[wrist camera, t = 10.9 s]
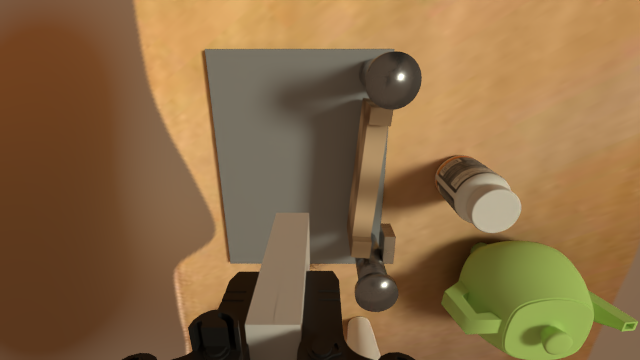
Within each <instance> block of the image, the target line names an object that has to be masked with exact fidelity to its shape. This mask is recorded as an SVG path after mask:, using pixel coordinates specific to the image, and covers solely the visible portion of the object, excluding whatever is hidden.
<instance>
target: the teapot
mask: <svg viewBox="0 0 640 360" xmlns="http://www.w3.org/2000/svg"><path fill="white" fill-rule="evenodd" d="M441 304H442V306H443V307H444V308H445V309H446V310H447V312H448V313H449V314H450V315H451V316H452V318H453V319H454V320H455V321H456V323H457V324H458V325H459V326H460V327H461V329H462V330H463V331H464V332H465V334H478V335H480V336H481V337H482V338H483V339H485V340H486V341H488V342H489V343H491V344H492V345H494V346H495V347H497V348H498V349H500V350H501V351H503V352H505V353H507V354H508V355H510V356H513V357H516V358H520V359H526V360H554V359H560V358H564V357H567V356H569V355H572V354H574V353H575V352H577V351H578V350H579V349H580V348H581V346H582V345H583V343H584V342H585V340H586V338H587V336H588V334H589V332H590V329H591V326H592V323H593V321H594V322H597V323H600V324H603V325H607V326H610V327H613V328H616V329H619V330H620V331H632V330H635V328H636V326H637V324H638V321H637V320H635V319H634V318H632V317H630V316H629V315H627V314H626V313H624V312H622V311H621V310H619V309H618V308H616V307H614V306H613V305H611V304H609V303H608V302H606V301H605V300H603V299H601V298H600V297H598V296H596V295H595V294H593V293H592V292H590V291H588V290H587V287H586V285H585V283H584V280H583V278H582V277H581V275H580V273H579V272H578V271H577V269H576V268H575V267H574V265H573V264H572V263H571V262H570V260H569V259H568V258H567V257H566V256H564V255H563V254H562V253H561V252H559V251H558V250H556V249H554V248H552V247H549V246H546V245H544V244H540V243H536V242H529V241H504V242H497V243H492V244H488V245H487V244H486V243H477V244H475V245H474V246H473V247H472V248H471V254H470V255H469V257H468V258H467V260H466V262H465V264H464V266H463V268H462V271H461V274H460V277H459V280H458V282H457V283H456V284H454V285H453V286H451V287H450V288H448V289H447V290H445V291H444V295H443V298H442V302H441Z"/></svg>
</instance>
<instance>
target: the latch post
mask: <svg viewBox="0 0 640 360" xmlns="http://www.w3.org/2000/svg"><path fill="white" fill-rule="evenodd" d="M395 239H396V236H395V234H394V232H393V229H392V227H391V224H380V232H379V246H378V243H377V239H376V237H375V235H374V234H373V233H372V232H371V241H372V245H371V252H370V258H355V262H356V268H357V274H358V282H357V283H356V285H355V298H356V301H357V303H358V304H359V306H360V307H362V308H363V309H365V310H367V311H371V312H380V311H384V310H386V309H389V308H390V307H391V306H393V305H394V304H395V302H396V301H397V298H398V289H397V286H396V283H395V281H394V280H393V278H392V277H390V276H389V275H387V273H386V269H385V266H384V264H393V260H394V249H395Z"/></svg>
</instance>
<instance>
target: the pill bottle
mask: <svg viewBox="0 0 640 360" xmlns="http://www.w3.org/2000/svg"><path fill="white" fill-rule="evenodd" d="M435 184H436V187H437V189H438V191H439V192H440V194H441V195H442V196H443V197H444V199H445V200H446V201H447V202H448V203H449V205H450V206H451V207H452V208H453V209H454V210H455V212H456V213H457V214H458V215H459V216H460V217H461V218H462V219H463V220H465V221H467V222H470V223H472V224H473V225H474V226H475V227H476V228H478V229H479V230H481V231H483V232H487V233H497V232H501V231H504V230H506V229H508V228H509V227H511V226H512V225H513V224H514V223H515V222H516V221H517V219H518V217H519V215H520V212H521V203H520V200H519V198H518V197H517V195H516V194H515V193H513V192H512V191H511V189H510V187H509V185H508V183H507V182H506V180H505V179H504V178H502V177H501V176H499V175H498V174H496V173H495V172H494V171H492V170H490V169H489V168H487V167H486V166H485V165H483V164H482V163H480V162H478V161H477V160H475V159H474V158H472V157H469V156H464V155H459V156H454V157H451V158H449V159H448V160H446V161H445V162H443V163H442V164H441V165H440V167H439V168H438V170H437V172H436V175H435Z"/></svg>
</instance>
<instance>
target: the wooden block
mask: <svg viewBox="0 0 640 360" xmlns="http://www.w3.org/2000/svg"><path fill="white" fill-rule="evenodd" d="M392 115H393V110H389V109H384V108H381V107H379V106H377V105H376V104H375V103H374V102H373V101H371V99H370V98H363V100H362V108H361V116H360V124H359V132H358V140H357V147H356V155H355V163H354V171H353V179H352V187H351V195H350V203H349V211H348V219H347V234H348V241H349V247H350V254H351V257H355V258H370V252H371V245H372V241H371V232H372V226H373V219H374V213H375V207H376V200H377V194H378V188H379V181H380V175H381V169H382V162H383V156H384V150H385V143H386V137H387V131H388V126H391V121H392Z"/></svg>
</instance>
